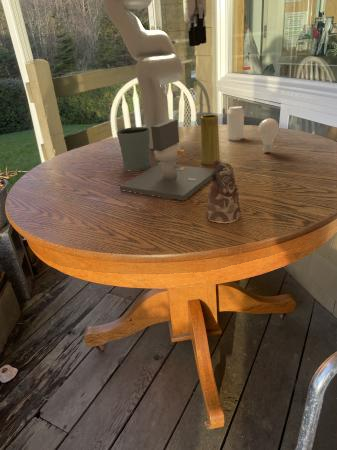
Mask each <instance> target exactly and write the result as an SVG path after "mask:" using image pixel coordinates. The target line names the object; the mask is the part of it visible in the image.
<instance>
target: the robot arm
mask: <svg viewBox="0 0 337 450" xmlns="http://www.w3.org/2000/svg"><path fill="white" fill-rule="evenodd" d="M152 1H153V0H103V4H104V8H105V11H106V13H107V16H108V18H109V20H110V21H111V23H112V24H113V25H114V27H115V28H116V30H117V31H118V33H119V34H120V36H121V38H122V40H123V42H124V44H125V47H126V49H127V50H128V53H129V55H130V56H131V58H132V59H133V60H134V61H137V63H136V64H135V66H134V67H135V68H134V69H135V75H136V76H135V77H136V80H137V83H138V88H139V91H140V97H141V103H142V111H143V120H144V127H146V128H149V135H150V143H149V146H150V150H154V148H153V140H152V131H151V126H154V125H157V124H159V123H162V122H164V121H167V120H169V119H170V113H169V104H168V103H169V101H168V96H167V94H166V92H165V90H164V89H163V87H162V86H161V85H166V84H171V83H176V82H179V81H180V80H181V78H182V77H183V72H184V70H183V68H184V67H183V63H182V60H181V58H180V55H179V54H178V52H177V50H176V48H175V46H174V44H173V43H172V40H171V39H170V36H169V35H168V34H167V33H166V32H165V31H162V30H147V29H145V28H144V27H143V25H142V22H141V21H140V19H139V18H138V17H137V16H136V15H135V14H134V13H133V12H131V11H130V10H140V9H141V10H142V9H146V8H148V7H149V6H150V5H151V3H152ZM182 5H183V6H182V7H183V21H184V23H186V24H187V23H188V30H187V31H188V32H187V33H188V44H189V47H198V46H200V45H201V44H202V45H203V44H206V43H207V26H206V16H207V0H183V2H182Z"/></svg>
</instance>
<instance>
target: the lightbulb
mask: <svg viewBox="0 0 337 450" xmlns="http://www.w3.org/2000/svg"><path fill="white" fill-rule="evenodd" d="M257 131H258V135H259V136H260V137H261V140H262V141H261V142H262V144H263V152H264V153H265V154H269V153H271V152H272V149H273V148H272V147H273V143H274V139H275V138H276V137H277V135H278V134H279V131H280V125H279V122H278V121H277V120H276V119H275V118H271V117H270V118H269V117H268V118H265V119H263V120H261V122H260V123H259V125H258V129H257Z"/></svg>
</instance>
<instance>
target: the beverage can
mask: <svg viewBox="0 0 337 450" xmlns="http://www.w3.org/2000/svg"><path fill="white" fill-rule="evenodd" d="M226 115H227V116H226V117H227V120H226V122H227V123H226V124H227V125H226V127H227V130H226V131H227V139H228V140H229V141H233V142H235V141H241V140H242V139H244V135H245V132H244V130H245V129H244V128H245V111H244V109H243V105H242V106H241V105H240V106H239V105H236V106H235V105H234V106H233V105H232V106H230V107H228V111H227V112H226Z"/></svg>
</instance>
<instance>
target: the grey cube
mask: <svg viewBox="0 0 337 450" xmlns="http://www.w3.org/2000/svg"><path fill="white" fill-rule="evenodd" d="M178 121H179V120H178V119H176V118H175V119H174V118H173V119H170V118H169V120H167V121H164V122H162V123H159V124H157V125H154V126H151V131H152V140H153V148H154V149H153V151H154V159H155V161H159V162H161V161H171V160H175V159H176V160H178V159H180V158H181V157H182V156H185V155H186V150H185V149H181V144H180V133H179V122H178Z"/></svg>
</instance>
